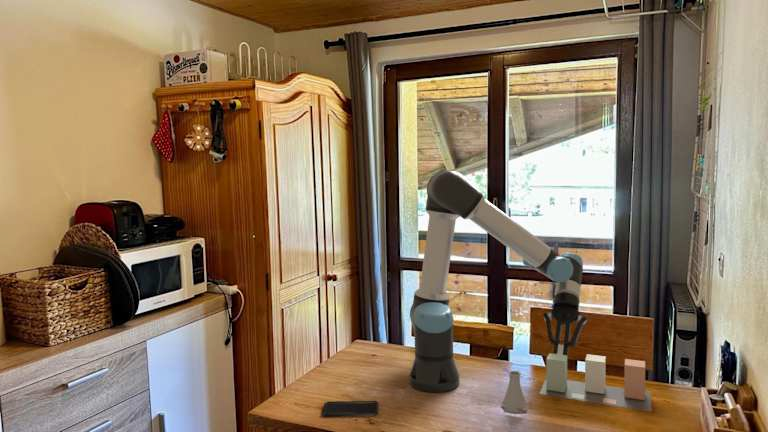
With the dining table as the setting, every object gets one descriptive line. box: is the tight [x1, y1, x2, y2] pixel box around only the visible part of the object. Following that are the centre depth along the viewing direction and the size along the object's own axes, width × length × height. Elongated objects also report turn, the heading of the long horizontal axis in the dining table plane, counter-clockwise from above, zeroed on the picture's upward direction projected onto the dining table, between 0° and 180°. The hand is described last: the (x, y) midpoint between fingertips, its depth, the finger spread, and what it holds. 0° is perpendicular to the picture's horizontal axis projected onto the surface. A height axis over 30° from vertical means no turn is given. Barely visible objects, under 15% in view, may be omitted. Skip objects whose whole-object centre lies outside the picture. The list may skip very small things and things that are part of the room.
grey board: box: [539, 378, 652, 412], centre depth 146 cm, size 28×13×2 cm, turn 64°
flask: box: [500, 370, 528, 415], centre depth 141 cm, size 7×7×10 cm
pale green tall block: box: [545, 352, 568, 393], centre depth 149 cm, size 5×5×9 cm
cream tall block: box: [584, 353, 607, 394], centre depth 147 cm, size 5×5×9 cm
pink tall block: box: [623, 358, 646, 400], centre depth 143 cm, size 5×5×9 cm
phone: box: [321, 400, 379, 418], centre depth 142 cm, size 8×1×15 cm
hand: (559, 366), depth 152 cm, fingers closed
